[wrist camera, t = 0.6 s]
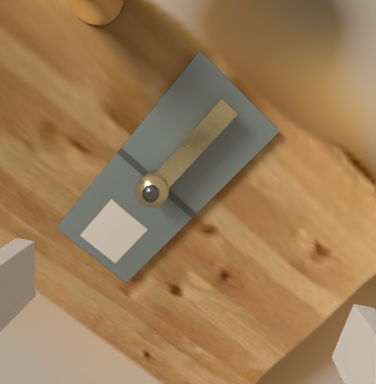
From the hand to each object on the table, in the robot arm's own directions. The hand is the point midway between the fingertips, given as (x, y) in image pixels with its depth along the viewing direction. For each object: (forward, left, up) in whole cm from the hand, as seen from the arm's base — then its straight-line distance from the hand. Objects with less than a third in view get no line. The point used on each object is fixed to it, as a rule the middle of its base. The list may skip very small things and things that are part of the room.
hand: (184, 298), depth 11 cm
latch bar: (-3, +1, -21) cm, 21 cm away
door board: (-3, -4, -23) cm, 23 cm away
